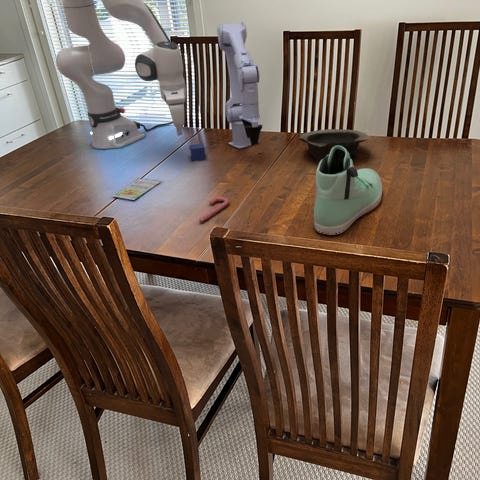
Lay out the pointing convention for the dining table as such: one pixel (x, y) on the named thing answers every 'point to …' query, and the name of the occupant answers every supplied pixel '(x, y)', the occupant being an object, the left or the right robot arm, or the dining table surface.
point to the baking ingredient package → (136, 189)
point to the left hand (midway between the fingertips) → (178, 130)
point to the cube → (197, 152)
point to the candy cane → (215, 208)
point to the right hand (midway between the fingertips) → (252, 140)
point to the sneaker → (343, 192)
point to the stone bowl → (333, 141)
